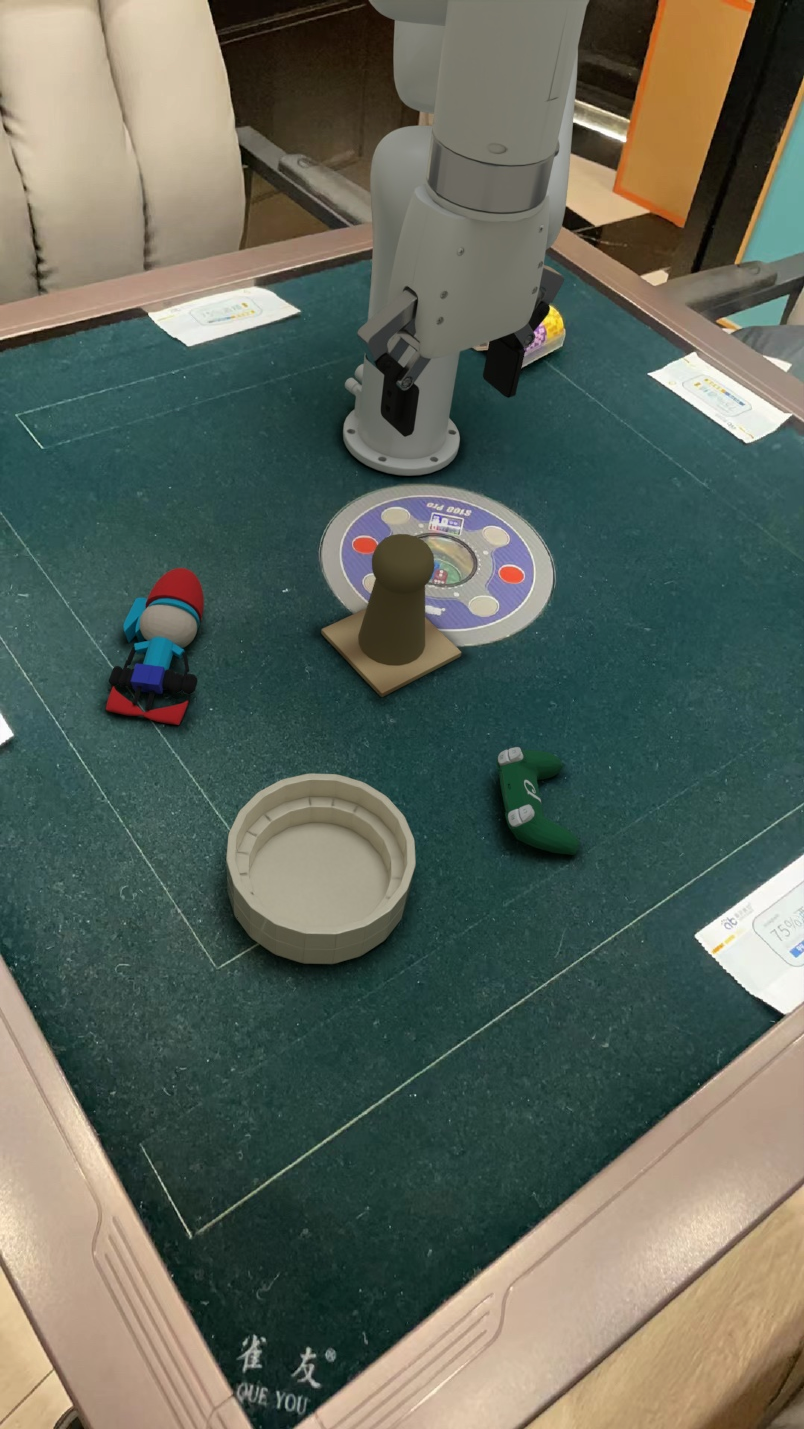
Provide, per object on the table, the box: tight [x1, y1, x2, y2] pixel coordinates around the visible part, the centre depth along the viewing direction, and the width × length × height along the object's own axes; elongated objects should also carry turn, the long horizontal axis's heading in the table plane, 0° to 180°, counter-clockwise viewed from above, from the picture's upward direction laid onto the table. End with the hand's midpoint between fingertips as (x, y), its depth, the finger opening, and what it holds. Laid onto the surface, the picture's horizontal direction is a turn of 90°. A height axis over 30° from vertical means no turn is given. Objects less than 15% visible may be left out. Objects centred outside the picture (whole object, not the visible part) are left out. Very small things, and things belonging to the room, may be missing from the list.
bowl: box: [225, 773, 417, 965], centre depth 76 cm, size 13×13×5 cm
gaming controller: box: [496, 746, 580, 856], centre depth 83 cm, size 9×4×6 cm
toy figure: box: [105, 567, 205, 726], centre depth 89 cm, size 8×5×15 cm
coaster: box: [320, 607, 462, 698], centre depth 94 cm, size 9×9×1 cm
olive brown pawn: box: [358, 533, 436, 666], centre depth 89 cm, size 6×6×11 cm
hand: (448, 406), depth 77 cm, fingers open, 9 cm apart
